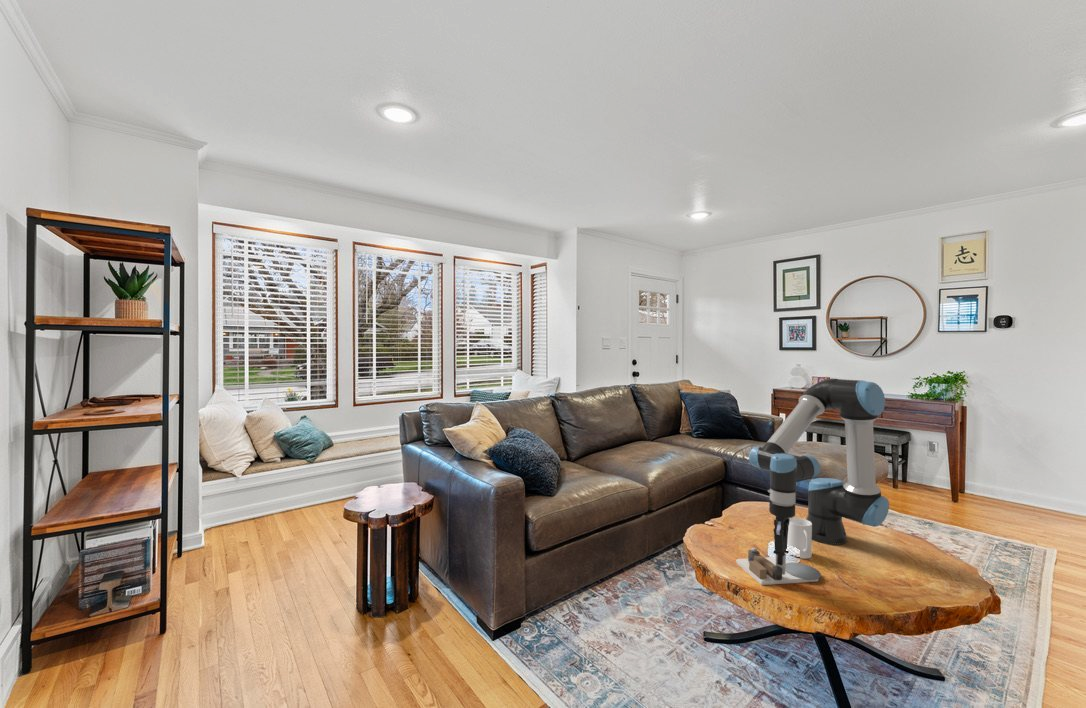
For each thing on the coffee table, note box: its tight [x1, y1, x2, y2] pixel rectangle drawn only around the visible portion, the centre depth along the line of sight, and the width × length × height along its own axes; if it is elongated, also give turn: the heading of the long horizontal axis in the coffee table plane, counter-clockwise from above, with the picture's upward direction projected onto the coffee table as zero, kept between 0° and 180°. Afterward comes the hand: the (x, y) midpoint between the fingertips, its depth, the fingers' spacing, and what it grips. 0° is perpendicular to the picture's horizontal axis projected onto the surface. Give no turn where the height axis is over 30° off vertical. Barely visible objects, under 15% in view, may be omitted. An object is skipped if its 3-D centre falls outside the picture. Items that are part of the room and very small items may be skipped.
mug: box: [787, 516, 813, 560], centre depth 170 cm, size 12×8×12 cm
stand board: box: [735, 547, 822, 586], centre depth 157 cm, size 23×16×6 cm
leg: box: [747, 549, 782, 580], centre depth 156 cm, size 14×4×3 cm, turn 13°
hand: (780, 572), depth 152 cm, fingers closed
